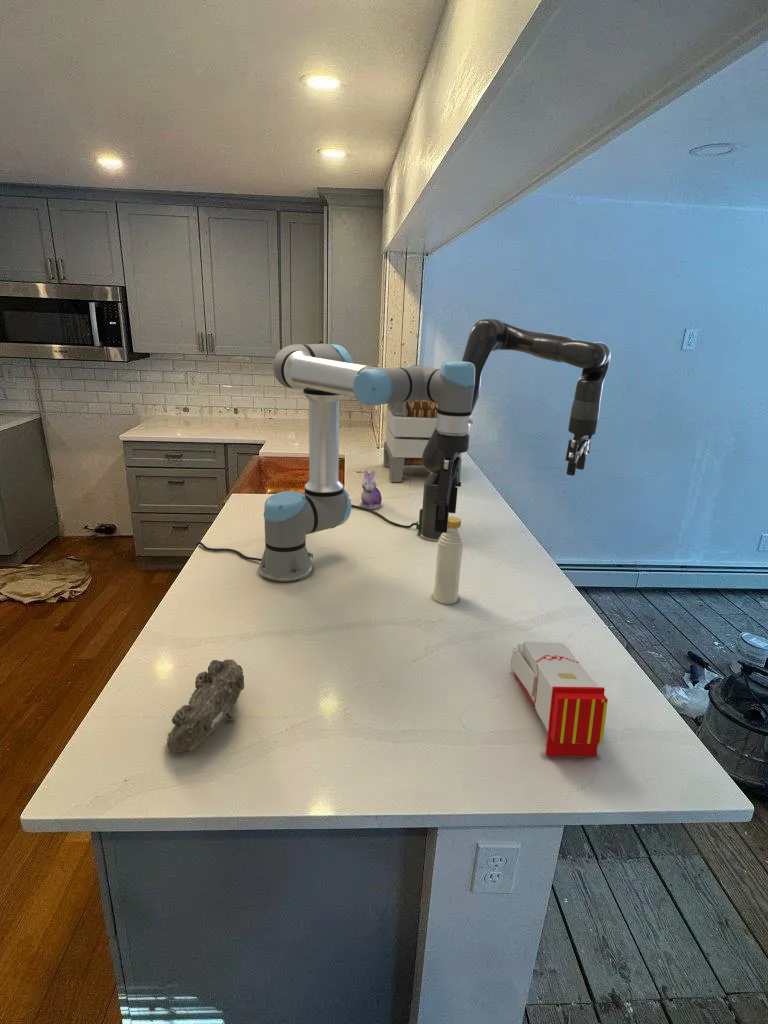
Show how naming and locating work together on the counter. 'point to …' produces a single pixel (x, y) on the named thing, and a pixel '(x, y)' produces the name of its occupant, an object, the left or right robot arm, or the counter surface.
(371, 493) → the figurine
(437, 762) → the counter surface
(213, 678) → the fossil
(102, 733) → the counter surface
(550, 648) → the toy
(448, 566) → the bottle
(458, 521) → the cap
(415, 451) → the transformer
